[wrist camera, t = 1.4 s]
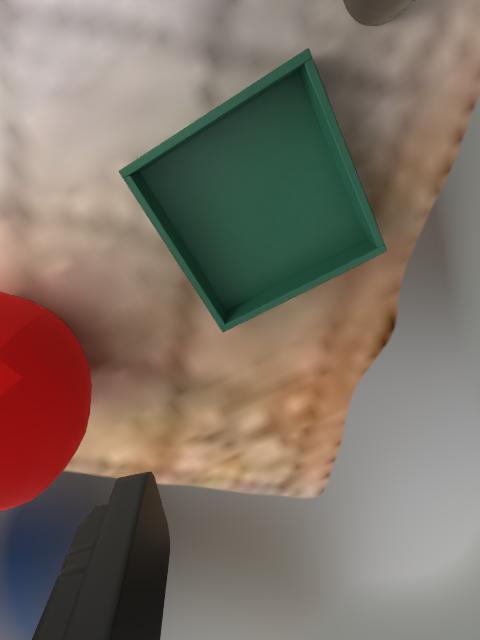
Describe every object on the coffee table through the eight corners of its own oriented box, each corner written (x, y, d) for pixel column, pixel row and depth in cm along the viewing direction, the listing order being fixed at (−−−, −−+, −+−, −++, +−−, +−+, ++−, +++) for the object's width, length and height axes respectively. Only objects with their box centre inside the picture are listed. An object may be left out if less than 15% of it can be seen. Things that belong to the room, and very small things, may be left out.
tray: (131, 168, 30) (118, 171, 27) (300, 59, 27) (308, 47, 24) (224, 315, 36) (222, 332, 33) (372, 240, 33) (387, 251, 29)
